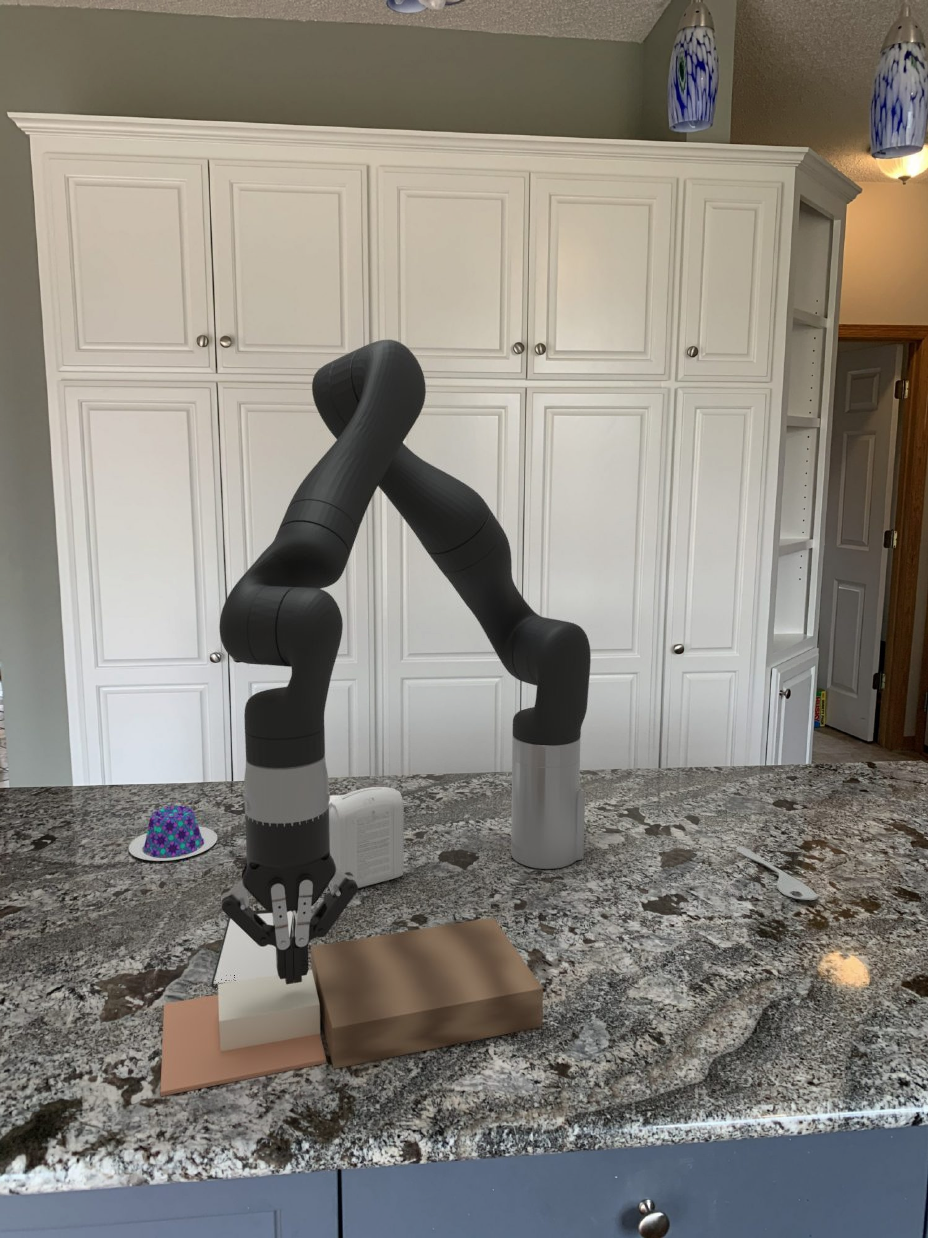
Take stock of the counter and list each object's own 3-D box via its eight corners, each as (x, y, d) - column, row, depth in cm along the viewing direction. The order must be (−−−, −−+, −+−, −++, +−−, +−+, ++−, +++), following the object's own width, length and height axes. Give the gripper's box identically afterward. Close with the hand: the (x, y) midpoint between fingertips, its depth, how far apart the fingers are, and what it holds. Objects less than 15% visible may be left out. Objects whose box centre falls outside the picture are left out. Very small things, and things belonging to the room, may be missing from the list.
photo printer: (393, 864, 117) (392, 777, 115) (409, 877, 114) (408, 787, 111) (323, 884, 111) (320, 792, 109) (337, 897, 108) (335, 803, 106)
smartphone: (286, 989, 89) (296, 912, 105) (286, 985, 89) (295, 908, 105) (208, 995, 88) (229, 915, 104) (208, 990, 88) (229, 911, 104)
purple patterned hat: (109, 857, 120) (107, 821, 119) (168, 825, 131) (166, 792, 130) (180, 872, 115) (178, 834, 115) (234, 837, 126) (233, 803, 126)
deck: (493, 951, 96) (493, 917, 95) (542, 1026, 83) (543, 988, 82) (311, 982, 90) (310, 946, 89) (333, 1069, 77) (332, 1028, 76)
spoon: (796, 912, 105) (797, 899, 105) (716, 842, 125) (716, 831, 125) (827, 908, 106) (828, 896, 106) (742, 840, 126) (742, 829, 126)
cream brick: (312, 997, 86) (311, 969, 86) (320, 1033, 81) (319, 1004, 80) (219, 1012, 84) (217, 984, 83) (220, 1051, 78) (219, 1021, 78)
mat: (306, 983, 90) (306, 979, 90) (326, 1063, 77) (326, 1059, 77) (164, 1007, 85) (164, 1004, 85) (160, 1096, 73) (160, 1092, 73)
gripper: (351, 783, 84) (354, 947, 87) (210, 797, 80) (218, 969, 83) (367, 811, 77) (369, 989, 80) (213, 828, 73) (221, 1015, 76)
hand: (292, 979), depth 81 cm, fingers closed
